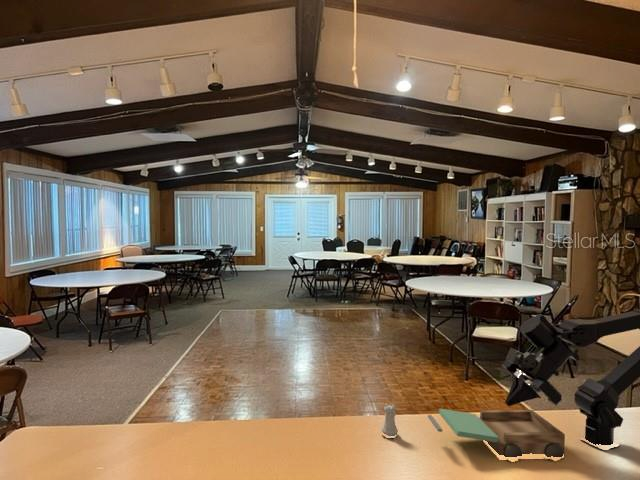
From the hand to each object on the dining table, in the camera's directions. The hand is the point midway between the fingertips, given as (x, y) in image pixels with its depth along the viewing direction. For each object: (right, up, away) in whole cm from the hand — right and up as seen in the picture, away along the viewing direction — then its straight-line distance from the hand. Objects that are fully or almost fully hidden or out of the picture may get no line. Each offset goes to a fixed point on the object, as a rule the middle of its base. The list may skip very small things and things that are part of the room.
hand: (506, 404), depth 107 cm
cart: (+3, -10, 0) cm, 11 cm away
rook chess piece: (-29, -10, +5) cm, 31 cm away
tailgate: (-5, -6, 0) cm, 8 cm away
